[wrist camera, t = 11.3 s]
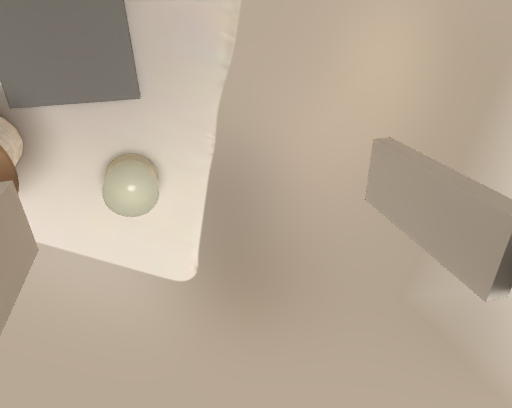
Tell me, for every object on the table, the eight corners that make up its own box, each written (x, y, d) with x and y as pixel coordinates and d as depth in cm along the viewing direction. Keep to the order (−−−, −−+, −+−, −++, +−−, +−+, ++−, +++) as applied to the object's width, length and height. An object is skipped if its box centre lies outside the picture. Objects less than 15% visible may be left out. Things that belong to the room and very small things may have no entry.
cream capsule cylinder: (101, 156, 43) (96, 172, 39) (153, 150, 44) (154, 165, 40) (112, 201, 46) (108, 220, 42) (160, 194, 47) (162, 212, 43)
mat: (-38, -42, 32) (-42, -43, 31) (116, -41, 35) (116, -42, 34) (12, 106, 38) (10, 108, 38) (140, 97, 41) (139, 98, 40)
